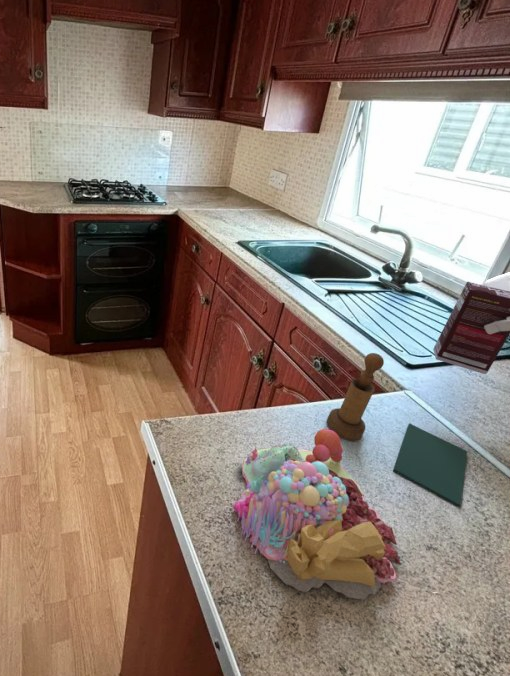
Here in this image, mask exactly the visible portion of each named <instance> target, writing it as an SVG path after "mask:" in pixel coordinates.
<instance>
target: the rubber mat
mask: <svg viewBox="0 0 510 676" xmlns="http://www.w3.org/2000/svg"><path fill="white" fill-rule="evenodd" d="M396 457H397V458H396V460H395V464H394V466H393V469H392V472H394V473H396V474H398V475H399V476H402V477H403V478H405V479H407V480H408V481H410V482H412V483H414V484H416V485H417V486H419V487H421V488H424V489H425V490H427V491H428V492H431V493H433V494H435V495H436V496H437V497H440V498H442V499H443V500H445V501H447V502H449V503H451V504H452V505H454V506H457V507H458V508H460V507H461V506H462V497H463V491H464V482H465V480H464V479H465V473H466V466H467V457H468V450H466V449H464V448H461V447H459V445H456V444H453V443H451V442H449V441H447V440H445V439H443V438H441V437H439V436H437V435H435V434H432V433H430V432H428V431H426V430H424V429H422V428H420V427H418V426H416V425H414V424H411V423H408V425H407V427H406V431H405V433H404V437H403V439H402V443H401V445H400V447H399V451H398V454H397V456H396Z"/></svg>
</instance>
